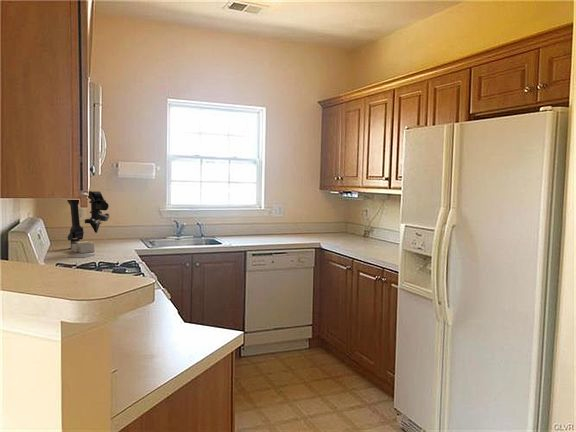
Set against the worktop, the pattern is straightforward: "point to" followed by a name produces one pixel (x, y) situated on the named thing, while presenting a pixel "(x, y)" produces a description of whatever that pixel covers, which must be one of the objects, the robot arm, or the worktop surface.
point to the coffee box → (82, 246)
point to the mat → (81, 255)
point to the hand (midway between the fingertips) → (96, 232)
